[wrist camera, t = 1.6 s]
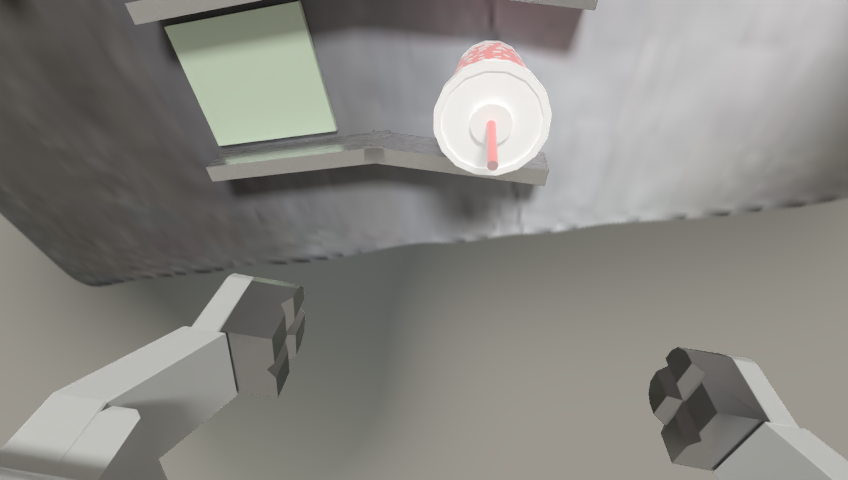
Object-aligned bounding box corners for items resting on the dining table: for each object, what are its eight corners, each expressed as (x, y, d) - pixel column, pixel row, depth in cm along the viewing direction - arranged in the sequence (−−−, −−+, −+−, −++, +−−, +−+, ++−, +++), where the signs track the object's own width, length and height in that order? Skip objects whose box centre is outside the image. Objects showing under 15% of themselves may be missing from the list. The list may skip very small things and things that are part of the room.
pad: (300, 0, 29) (298, 1, 28) (337, 128, 34) (336, 130, 33) (167, 26, 31) (164, 27, 30) (221, 143, 35) (218, 146, 35)
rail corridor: (591, -20, 26) (602, -15, 24) (529, 205, 36) (533, 225, 33) (137, -72, 27) (104, -72, 25) (193, 159, 37) (172, 176, 34)
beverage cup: (495, 135, 32) (501, 247, 21) (427, 85, 31) (395, 177, 20) (554, 65, 29) (599, 152, 18) (482, 6, 28) (480, 60, 16)
